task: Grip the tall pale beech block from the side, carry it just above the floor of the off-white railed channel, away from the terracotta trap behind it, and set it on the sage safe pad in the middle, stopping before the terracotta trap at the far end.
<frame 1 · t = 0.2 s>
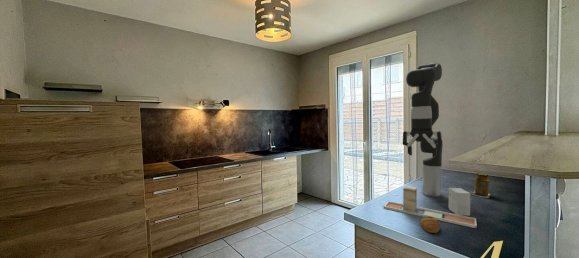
hand: (421, 155, 97), 29 cm above the counter, tool pointing down, fingers open, 8 cm apart
rail channel: (426, 213, 107), on the counter
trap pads: (426, 213, 107), resting in rail channel
beech block: (409, 210, 111), resting in rail channel
pastry: (430, 228, 93), on the counter
safe pad: (432, 215, 105), resting in rail channel
condiment: (481, 195, 132), on the counter
small box: (458, 212, 108), on the counter
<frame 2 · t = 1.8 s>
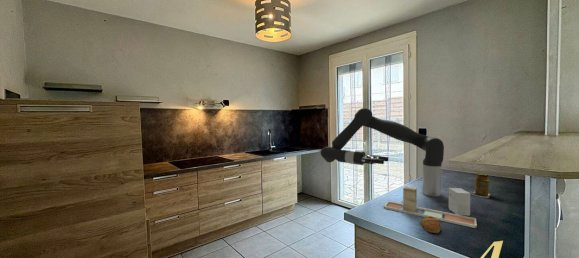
hand: (386, 160, 116), 23 cm above the counter, tool horizontal, fingers open, 8 cm apart
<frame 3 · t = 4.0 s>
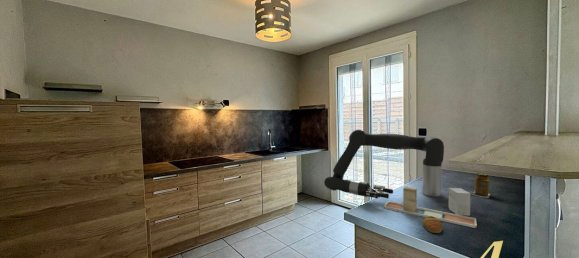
hand: (390, 193, 116), 6 cm above the counter, tool horizontal, fingers open, 8 cm apart
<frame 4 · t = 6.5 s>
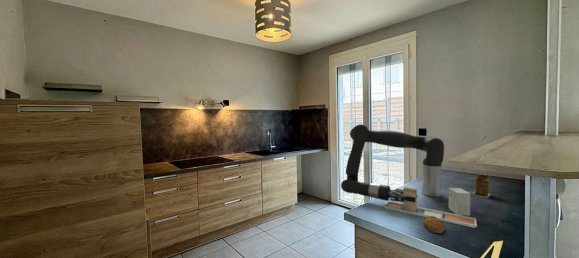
hand: (416, 198, 109), 7 cm above the counter, tool horizontal, fingers closed on beech block, 5 cm apart
beech block: (409, 210, 111), resting in rail channel, touching gripper
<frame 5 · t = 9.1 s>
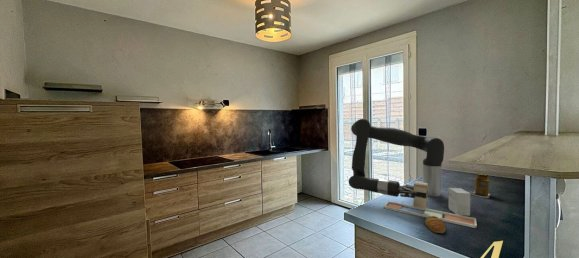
hand: (426, 194, 106), 9 cm above the counter, tool horizontal, fingers closed on beech block, 5 cm apart
beech block: (420, 206, 108), point 3 cm above the counter, touching gripper
when the fingers open (7 cm above the counter, at t = 11.7 s): beech block stays where it is, resting on safe pad.
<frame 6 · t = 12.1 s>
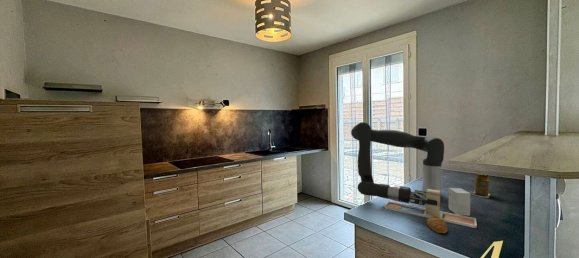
hand: (438, 200, 104), 7 cm above the counter, tool horizontal, fingers open, 8 cm apart
beech block: (432, 214, 105), resting on safe pad
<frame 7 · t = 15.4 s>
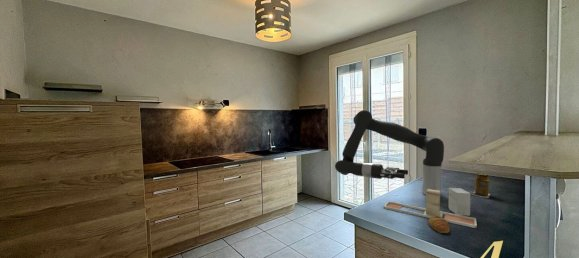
hand: (406, 174, 111), 17 cm above the counter, tool horizontal, fingers open, 8 cm apart
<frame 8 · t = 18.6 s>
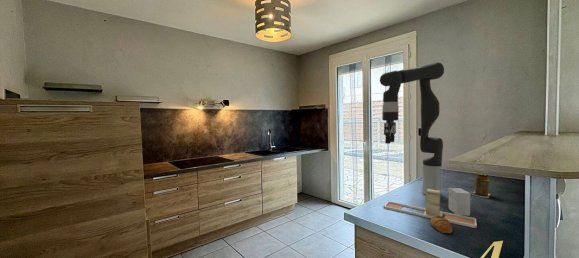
hand: (390, 142, 118), 32 cm above the counter, tool pointing down, fingers open, 8 cm apart
at the end: beech block 0.0 cm from the target spot, resting on safe pad; beech block tilted 0°; the gripper is holding nothing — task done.
